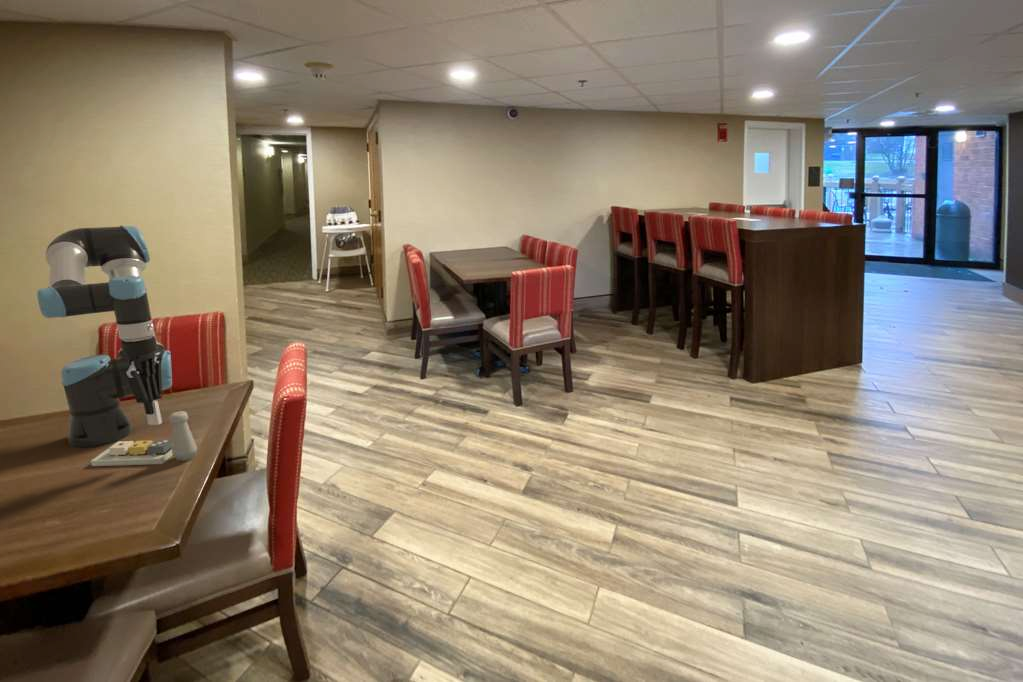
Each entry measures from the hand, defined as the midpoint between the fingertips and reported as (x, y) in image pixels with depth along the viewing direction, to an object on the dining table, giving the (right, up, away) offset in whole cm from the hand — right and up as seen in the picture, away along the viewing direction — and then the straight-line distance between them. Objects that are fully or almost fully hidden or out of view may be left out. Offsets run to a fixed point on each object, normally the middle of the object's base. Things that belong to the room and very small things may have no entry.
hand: (155, 423), depth 149 cm
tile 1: (-10, -8, +2) cm, 13 cm away
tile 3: (0, -7, +3) cm, 8 cm away
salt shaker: (+7, -10, +2) cm, 12 cm away
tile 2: (-5, -8, +2) cm, 9 cm away
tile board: (-7, -9, +3) cm, 12 cm away
